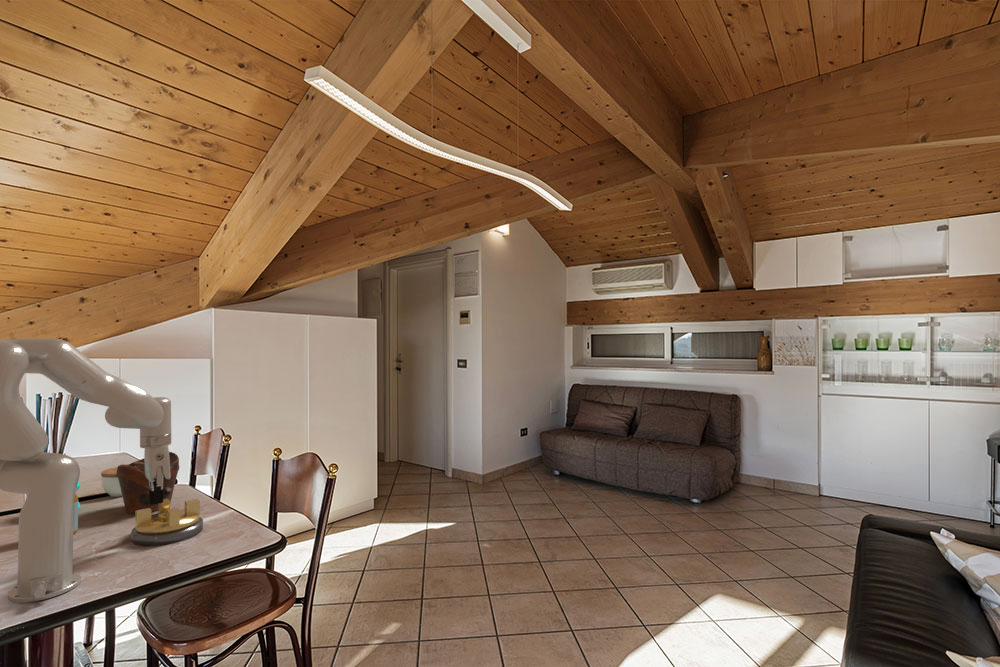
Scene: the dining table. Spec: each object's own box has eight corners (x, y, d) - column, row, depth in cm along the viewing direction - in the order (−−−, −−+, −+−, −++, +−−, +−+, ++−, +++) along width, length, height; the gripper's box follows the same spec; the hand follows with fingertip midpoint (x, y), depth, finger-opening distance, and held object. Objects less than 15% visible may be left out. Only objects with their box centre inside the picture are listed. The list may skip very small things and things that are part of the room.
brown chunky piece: (106, 521, 160) (108, 464, 160) (123, 502, 178) (125, 452, 179) (171, 514, 167) (173, 460, 168) (182, 497, 185) (183, 449, 186)
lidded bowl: (119, 488, 195) (119, 460, 195) (150, 489, 195) (150, 460, 195) (91, 498, 183) (92, 468, 183) (124, 499, 182) (125, 469, 182)
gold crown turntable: (205, 525, 150) (205, 505, 150) (140, 539, 139) (141, 518, 139) (191, 512, 161) (192, 493, 161) (131, 524, 150) (131, 504, 150)
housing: (209, 534, 150) (210, 514, 150) (136, 551, 137) (137, 529, 137) (194, 518, 163) (194, 500, 163) (126, 533, 150) (126, 513, 150)
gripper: (177, 442, 142) (177, 506, 142) (165, 434, 152) (165, 494, 153) (145, 446, 136) (145, 513, 137) (135, 438, 147) (136, 500, 147)
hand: (156, 503), depth 145 cm, fingers closed
